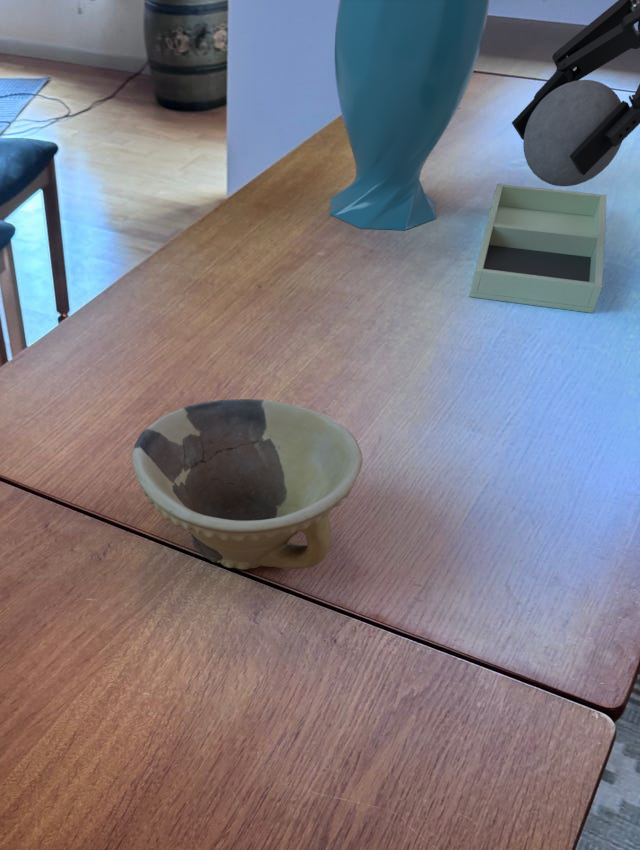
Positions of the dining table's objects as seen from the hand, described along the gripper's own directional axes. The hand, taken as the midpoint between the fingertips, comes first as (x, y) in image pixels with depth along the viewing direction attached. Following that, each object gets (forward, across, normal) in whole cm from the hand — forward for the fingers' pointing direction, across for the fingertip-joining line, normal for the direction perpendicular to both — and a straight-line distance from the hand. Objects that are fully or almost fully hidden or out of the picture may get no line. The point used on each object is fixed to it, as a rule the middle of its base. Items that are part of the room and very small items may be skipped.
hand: (546, 148), depth 98 cm
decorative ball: (+1, 0, -5) cm, 5 cm away
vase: (+14, +24, -7) cm, 28 cm away
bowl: (+44, -34, +24) cm, 61 cm away
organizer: (+6, +4, -14) cm, 16 cm away
